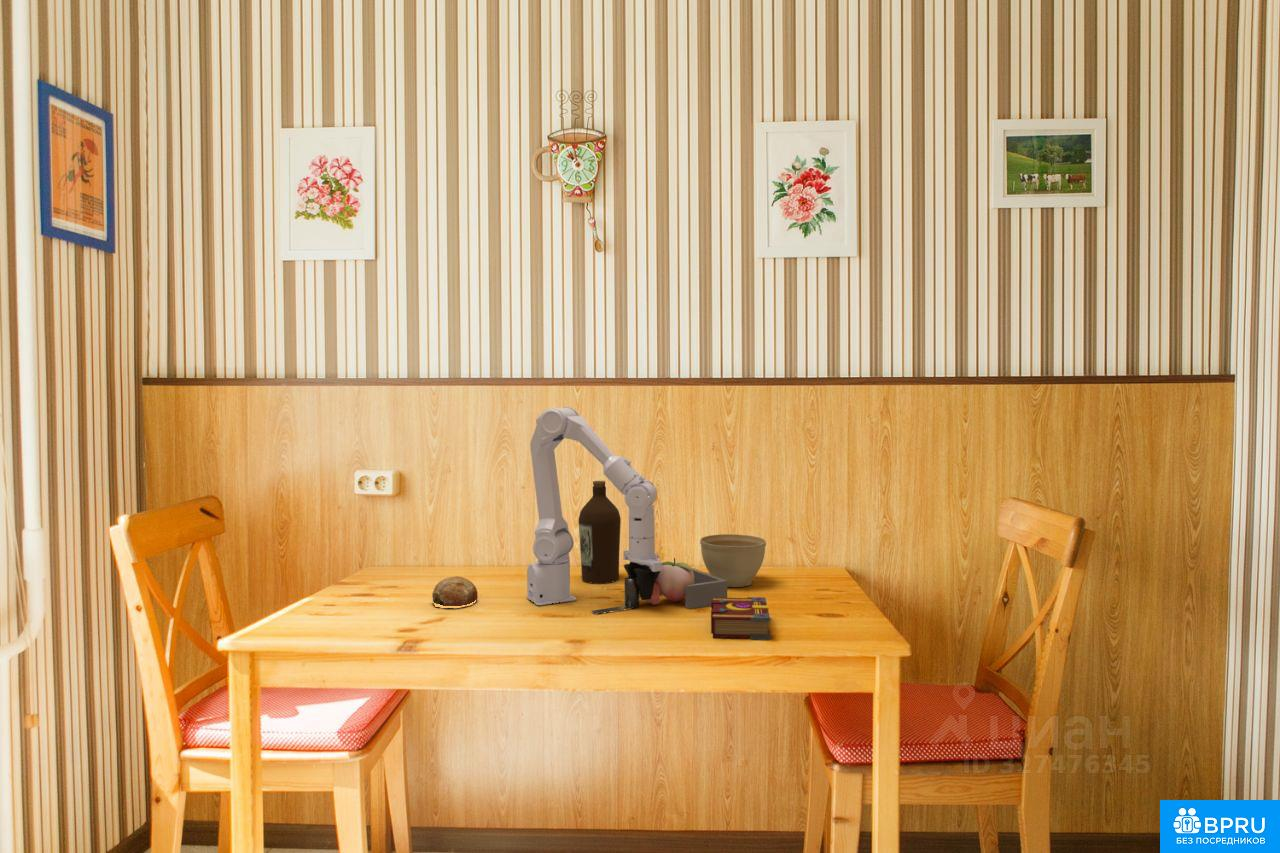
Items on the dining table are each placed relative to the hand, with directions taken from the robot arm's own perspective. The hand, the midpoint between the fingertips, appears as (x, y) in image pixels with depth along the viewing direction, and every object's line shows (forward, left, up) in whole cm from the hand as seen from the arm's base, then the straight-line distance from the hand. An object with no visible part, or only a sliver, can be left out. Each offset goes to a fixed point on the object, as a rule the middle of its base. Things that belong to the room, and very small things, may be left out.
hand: (642, 597), depth 172 cm
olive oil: (+2, +27, -2) cm, 27 cm away
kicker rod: (0, 0, -1) cm, 1 cm away
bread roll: (-36, +23, -2) cm, 43 cm away
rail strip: (-7, 0, -2) cm, 8 cm away
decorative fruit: (+8, -1, -2) cm, 8 cm away
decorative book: (+10, -23, -2) cm, 25 cm away
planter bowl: (+29, +7, -2) cm, 30 cm away
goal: (+12, 0, -2) cm, 12 cm away
